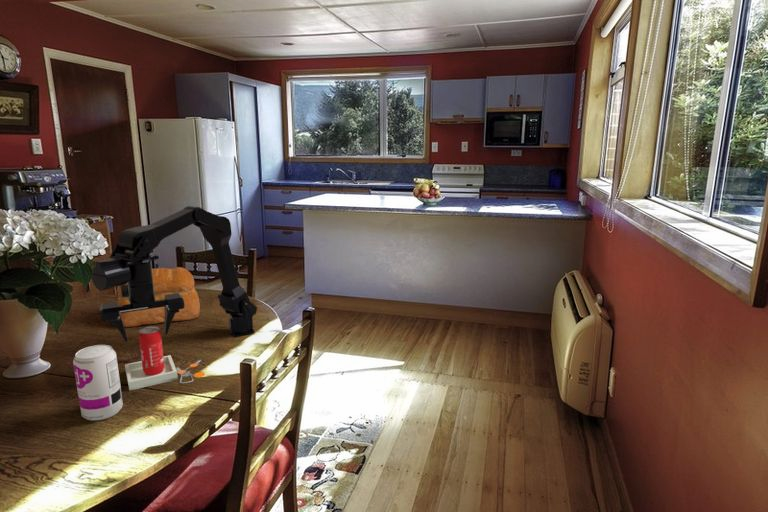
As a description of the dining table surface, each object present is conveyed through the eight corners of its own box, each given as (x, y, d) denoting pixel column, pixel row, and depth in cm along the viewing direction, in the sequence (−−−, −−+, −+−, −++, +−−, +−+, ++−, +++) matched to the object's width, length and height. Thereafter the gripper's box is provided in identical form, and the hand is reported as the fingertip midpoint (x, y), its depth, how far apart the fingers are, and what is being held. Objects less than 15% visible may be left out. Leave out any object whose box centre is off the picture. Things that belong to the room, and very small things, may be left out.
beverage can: (156, 377, 123) (152, 334, 120) (138, 375, 124) (133, 332, 121) (168, 368, 128) (164, 326, 125) (151, 366, 128) (146, 325, 126)
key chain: (206, 380, 123) (206, 377, 123) (175, 386, 120) (175, 383, 120) (203, 360, 135) (203, 357, 134) (175, 364, 132) (175, 361, 132)
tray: (171, 362, 132) (170, 355, 132) (177, 379, 123) (177, 371, 123) (125, 371, 127) (124, 364, 126) (129, 390, 117) (128, 382, 117)
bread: (120, 314, 168) (114, 267, 163) (199, 305, 177) (195, 260, 173) (114, 330, 154) (108, 279, 149) (201, 320, 163) (197, 272, 159)
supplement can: (94, 426, 103) (84, 363, 99) (74, 414, 107) (64, 353, 103) (130, 409, 109) (122, 349, 106) (110, 398, 114) (102, 340, 110)
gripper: (175, 267, 130) (180, 321, 134) (95, 276, 120) (103, 334, 124) (182, 277, 121) (187, 334, 124) (97, 288, 111) (105, 350, 115)
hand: (146, 337), depth 122 cm, fingers open, 9 cm apart
